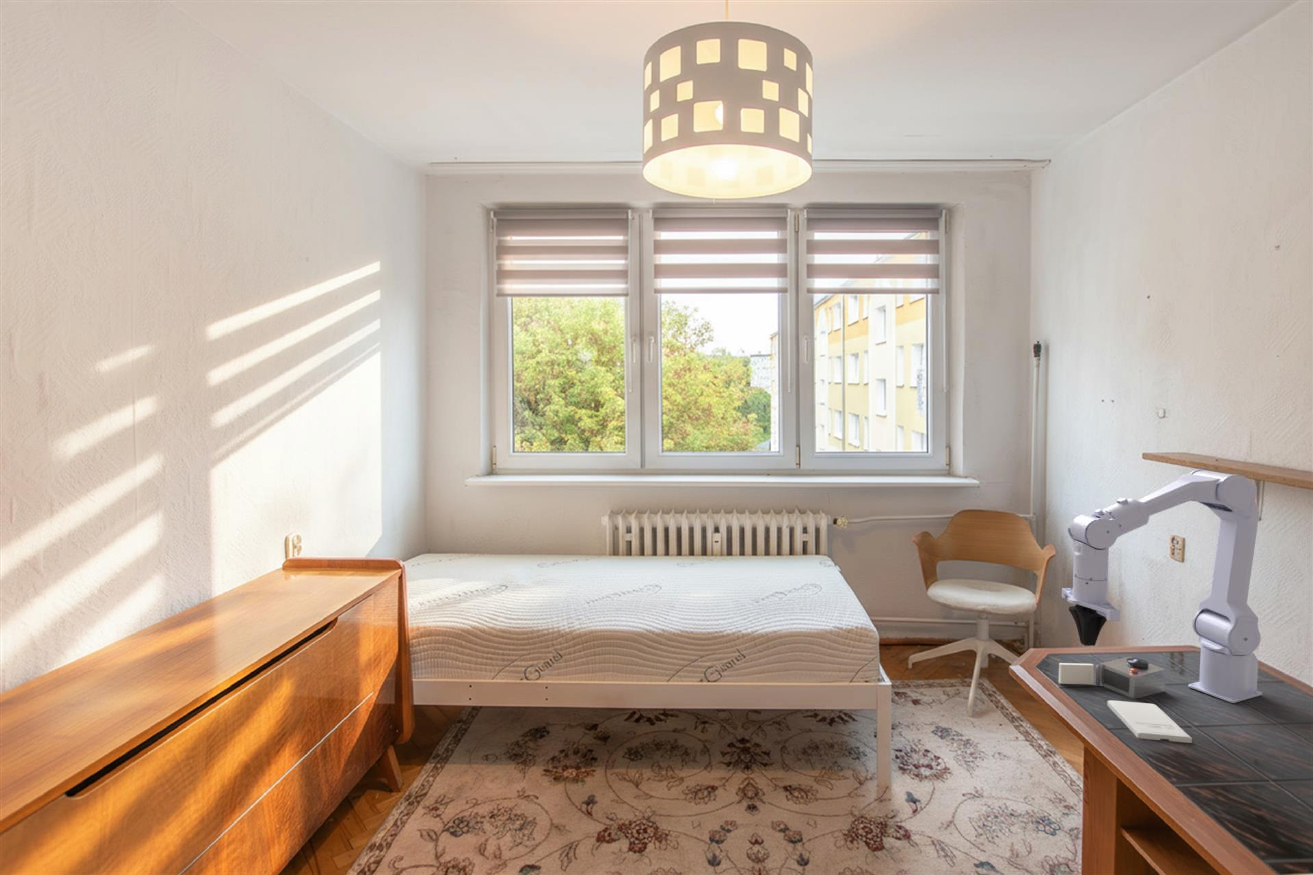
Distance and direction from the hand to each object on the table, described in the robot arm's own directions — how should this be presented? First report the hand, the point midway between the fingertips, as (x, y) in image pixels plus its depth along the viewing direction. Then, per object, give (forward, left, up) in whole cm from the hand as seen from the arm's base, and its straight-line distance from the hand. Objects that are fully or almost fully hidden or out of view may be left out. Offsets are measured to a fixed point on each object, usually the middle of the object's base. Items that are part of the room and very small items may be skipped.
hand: (1087, 644), depth 134 cm
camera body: (-10, +2, -10) cm, 14 cm away
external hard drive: (+1, +13, -11) cm, 17 cm away
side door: (-2, -3, -10) cm, 10 cm away
